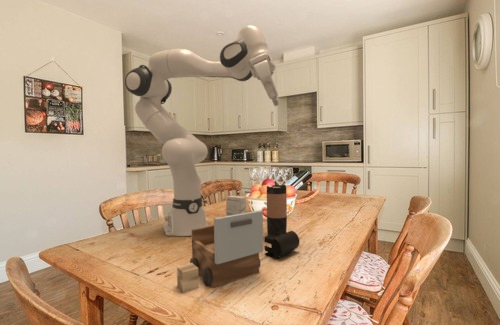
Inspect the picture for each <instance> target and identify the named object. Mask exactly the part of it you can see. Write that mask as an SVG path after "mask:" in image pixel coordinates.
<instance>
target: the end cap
mask: <svg viewBox="0 0 500 325" xmlns="http://www.w3.org/2000/svg"><path fill="white" fill-rule="evenodd" d="M276 234H279V236H274V235H271V234H270V235H268V234H267V235H265V236H264V237H263V242H264V243H265V244H270V246H268V245H264V252H265V254H264V256H267V257H269V258H272V259H279V258H280V257H283V256H284V255H287V254H289V253H291V252H293V251H294V250H296V249H297V248H298V247H299V246H300V238H299V236H298V234H297V233H296V232H295V231H294V230H290V231H288V232H287V231H286V232H284V231H279V232H276Z"/></svg>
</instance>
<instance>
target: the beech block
mask: <svg viewBox="0 0 500 325" xmlns="http://www.w3.org/2000/svg"><path fill="white" fill-rule="evenodd" d="M199 276H200V275H199V271H198V267H196V266H195V265H194V264H193V263H190V262H189V263H186V264H182V265H178V266H176V278H177V280H176V282H177V283H176V286H177V288H179V290H181V292H182V293H184V294H185V293H186V292H191V291H192V290H193V291H194V290H196V289H199V288H200V284H199V283H200V282H199V280H200V277H199Z"/></svg>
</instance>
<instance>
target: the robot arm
mask: <svg viewBox="0 0 500 325" xmlns="http://www.w3.org/2000/svg"><path fill="white" fill-rule="evenodd" d="M275 69H276V64H275V63H274V59H273V56H272V54H271V53H270V51H269V50H268V43H267V41H266V38H265V36H264V34H263V33H262V30H261V29H260V28H258V26H256V25H247V26H244V27H242V28H241V29H240V30H239V31H238V35H237V36H236V37H235V38H234V39H233V40H232V41H231V42H229V43H228V44H226V45H225V46H223V47H222V49H221V51H220V53H219V61H212V60H207V59H205V58H203V57H201V56H199V55H198V54H196V53H195V52H193V51H192V50H189V49H185V48H171V49H164V50H162V51H158V52H155V53H153V54H151V56H150V57H149V60H148V65H145V64H140V65H139V66H138V67H135V68H133V69H131V70H129V72H128V73H126V75H125V78H124V85H125V88H126V90H127V91H128V92H129V93H131V94H132V95H133V96H136V97H139V100H138V101H137V102H136V103H135V106H134V109H135V110H134V111H135V114H136V115H137V117H138V119H139V120H140V121H141V123H142V124H143V125H144V126H145V127H146V129H147V130H148V131H149V132H150V133H151V135H152V136H153V137H154V138H155V139H156V140H157V141H158V142H160V143H161V144H163V146H162V148H161V156H162V158H163V160H164V162H166V163H167V165H168V166H169V169H170V173H171V176H172V181H173V199H172V203H171V204H172V205H171V207H172V208H171V209H170V211H169V212H168V213H167V216H165V217H164V222H165V223H164V224H162V229H163V231H164V234H165V236H166V237H169V236H177V237H189V236H190V237H192V229H196V228H201V227H206V226H210V225H209V224H207V215H206V209H204V208H203V207H202V206H203V197H202V185H201V184H202V181H201V177H200V176H199V175H198V173H197V169H196V164H200V163H201V162H203V161H204V160H206V158H207V156H208V152H209V151H208V147H207V145H206V143H205V142H202V141H201V140H199V139H198V138H197V137H196V136H194V135H193V133H192V132H190V131H189V130H187V129H186V128H184V126H182V125H181V124H180V123H179V122H178V121H177V120H176V119H175V118H174V117H173V116H172V115H171V114H170V113H169V112H168V111H167V110H166V108H165V107H163V104H165V103H166V102H167V100H168V98H170V95H171V94H172V89H173V88H172V84H171V82H170V81H169V80H170V79H177V78H178V79H179V78H182V79H183V78H228V79H229V78H230V79H233V80H236V81H237V82H247V81H248V80H250V79H251V78H252V77H253V78H256V79H257V80H258V81H260V82H261V84H262V86H263V88H264V90H265V92H266V94H267V97H268V98H269V100H271V101H272V103H273V106H274V107H277V106H279V105H280V104H279V101H278V97H279V94H278V91H277V88H276V86H275V83H274V80H273V75H274V71H275Z"/></svg>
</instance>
